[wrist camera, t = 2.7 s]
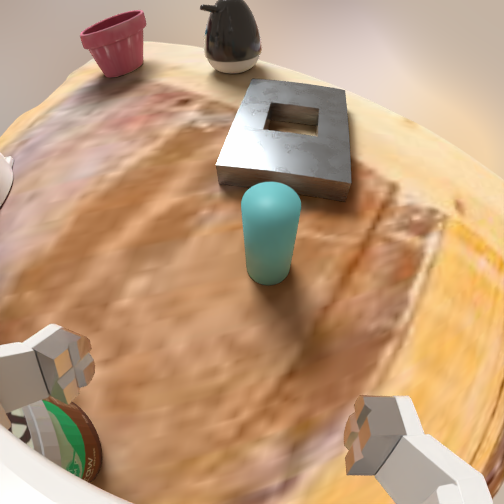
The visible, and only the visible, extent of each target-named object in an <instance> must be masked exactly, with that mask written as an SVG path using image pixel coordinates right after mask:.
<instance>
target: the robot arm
mask: <svg viewBox="0 0 504 504" xmlns="http://www.w3.org/2000/svg"><path fill="white" fill-rule="evenodd" d="M13 162H14V160H13V158H12V157H11V156H9V157H6V158H4V156H3V155H2V154H1V153H0V206H1V205H2V203H3V201H4V200H5V198H6V196H7V194H8V192H9V190H10V187H11V185H12V181H13V172H12V166H13ZM91 349H92V348H91V344H90V340H89V339H88V338H87V337H85V336H83V335H80V334H78V333H76V332H73V331H71V330H69V329H66V328H63V327H61V326H59V325H57V324H49V325H48V326H46V327H45V328H43V329H42V330H40V331H39V332H37V333H36V334H35V335H33V336H32V337H30V338H29V339H27V340H26V341H24V342H23V343H20V342H16V343H10V344H5V345H0V504H134V503H131V502H129V501H126V500H124V499H122V498H119V497H117V496H115V495H113V494H111V493H108V492H106V491H104V490H102V489H100V488H98V487H96V486H94V485H92V484H90V483H88V482H86V481H85V480H83V479H81V478H79V477H77V476H75V475H74V474H72V473H70V472H68V471H67V470H65V469H63V468H62V467H60V466H58V465H57V464H55V463H54V462H52V461H50V460H49V459H47V458H46V457H44V456H43V455H41V454H40V453H38V452H37V451H35V450H34V449H33V448H31V447H30V446H28V445H27V444H26V443H24V442H23V441H21V440H20V439H19V438H17V437H16V436H15V435H14V434H12V433H11V432H10V431H9V430H8V429H9V428H10V427H11V422H10V421H9V419H8V417H7V415H6V413H9V412H11V411H14V410H17V409H19V408H22V407H24V406H27V405H30V404H32V403H35V402H37V401H40V400H42V399H45V398H47V397H49V395H50V396H51V397H53V398H55V399H57V400H59V401H61V402H63V403H65V404H67V405H69V404H70V403H71V402H72V401H73V400H74V399H75V398H76V396H77V395H78V394H79V388H80V387H84V386H87V385H88V384H89V383H90V381H91V380H92V378H93V375H94V373H95V364H94V360H93V358H92V357H91V355H90V354H89V352H90V350H91ZM354 407H355V413H353V414H352V415H350V416H349V418H348V421H347V423H346V427H345V431H344V446H345V447H346V448H347V449H348V450H349V451H348V453H347V455H346V457H345V461H346V473H347V475H375V478H376V479H377V480H378V482H379V483H380V484H381V485H382V487H383V488H384V489H385V491H386V492H387V493H388V494H389V496H390V497H391V498H392V499H393V501H394V502H395V503H396V504H493V501H492V498H491V495H490V493H489V490H488V487H487V485H486V482H485V479H484V477H483V475H482V474H481V473H479V472H478V471H477V470H475V469H474V468H473V467H471V466H470V465H469V464H467V463H466V462H465V461H463V460H462V459H461V458H459V457H458V456H457V455H455V454H454V453H453V452H451V451H450V450H449V449H448V448H446V447H445V446H444V445H442V444H441V443H440V442H438V441H437V440H436V439H435V438H433V437H432V436H431V435H429V434H426V435H425V434H424V431H423V428H422V426H421V423H420V420H419V418H418V415H417V412H416V410H415V407H414V405H413V402H412V400H411V398H410V397H409V396H367V395H360V396H359V397H358V398H357V400H356V402H355V404H354Z"/></svg>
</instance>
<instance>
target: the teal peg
mask: <svg viewBox="0 0 504 504" xmlns="http://www.w3.org/2000/svg"><path fill="white" fill-rule="evenodd" d="M241 209H242V221H243V232H244V244H245V255H246V267H247V272H248V274H249V276H250V277H251V278H252V279H253V280H254V281H255V282H257V283H259V284H262V285H275V284H278V283H280V282H282V281H283V280H284V279H285V278H286V277H287V275H288V273H289V270H290V265H291V260H292V255H293V249H294V244H295V239H296V233H297V228H298V222H299V216H300V211H301V201H300V198H299V196H298V195H297V193H296V192H295V191H294V190H293V189H292V188H290V187H289V186H287V185H285V184H282V183H278V182H263V183H259V184H256V185H254V186H252V187H251V188H249V189H248V190H247V191H246V193H245V194H244V196H243V198H242V201H241Z"/></svg>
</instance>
